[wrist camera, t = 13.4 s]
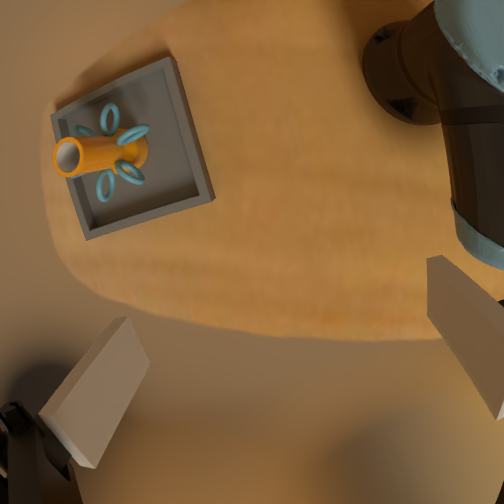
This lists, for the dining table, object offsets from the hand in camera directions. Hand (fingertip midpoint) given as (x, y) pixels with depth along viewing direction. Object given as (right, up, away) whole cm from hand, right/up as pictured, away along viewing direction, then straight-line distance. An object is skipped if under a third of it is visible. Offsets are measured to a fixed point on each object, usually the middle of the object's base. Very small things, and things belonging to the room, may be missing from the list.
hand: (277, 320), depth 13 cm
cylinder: (-18, +17, +28) cm, 37 cm away
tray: (-18, +17, +28) cm, 38 cm away
